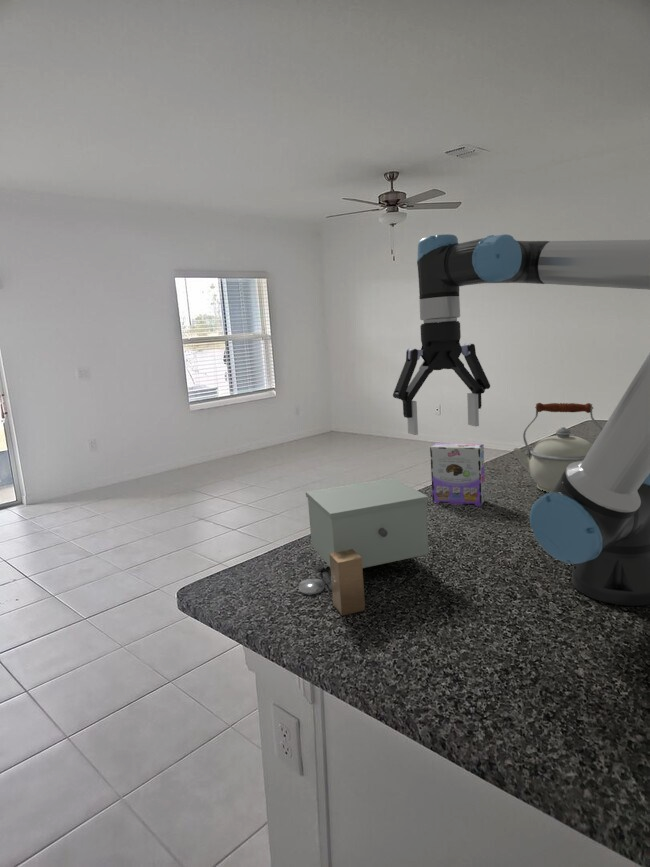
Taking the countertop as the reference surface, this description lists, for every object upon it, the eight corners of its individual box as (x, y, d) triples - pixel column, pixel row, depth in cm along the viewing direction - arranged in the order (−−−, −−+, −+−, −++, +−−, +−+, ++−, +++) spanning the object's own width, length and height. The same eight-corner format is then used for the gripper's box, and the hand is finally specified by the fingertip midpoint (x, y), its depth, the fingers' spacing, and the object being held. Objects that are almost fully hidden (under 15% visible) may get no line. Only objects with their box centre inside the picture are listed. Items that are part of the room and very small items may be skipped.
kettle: (608, 482, 162) (610, 398, 158) (600, 501, 147) (602, 408, 143) (520, 476, 176) (520, 398, 171) (505, 492, 161) (504, 407, 156)
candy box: (486, 500, 154) (484, 443, 151) (481, 507, 149) (480, 447, 146) (437, 497, 161) (435, 441, 158) (431, 503, 156) (429, 446, 153)
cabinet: (433, 573, 112) (430, 497, 109) (337, 595, 106) (331, 515, 103) (396, 544, 128) (392, 477, 125) (311, 561, 122) (305, 491, 119)
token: (326, 593, 107) (326, 587, 107) (301, 597, 107) (300, 591, 106) (321, 582, 112) (321, 577, 112) (297, 586, 111) (296, 580, 111)
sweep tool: (365, 610, 99) (361, 557, 98) (341, 615, 98) (337, 562, 96) (336, 576, 114) (332, 530, 112) (315, 581, 112) (311, 534, 110)
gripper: (484, 317, 113) (486, 419, 117) (372, 325, 106) (378, 434, 110) (507, 315, 106) (508, 424, 110) (388, 324, 99) (394, 440, 103)
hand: (443, 429), depth 110 cm, fingers open, 13 cm apart
